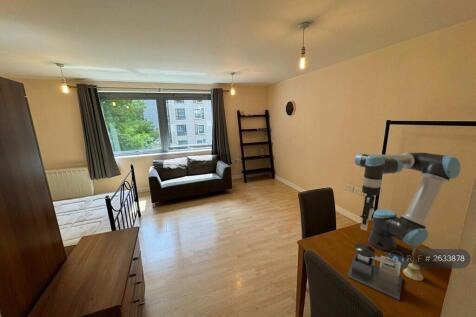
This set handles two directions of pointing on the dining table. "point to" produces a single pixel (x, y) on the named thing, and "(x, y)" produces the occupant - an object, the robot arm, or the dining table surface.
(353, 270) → the press stand
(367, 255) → the black ball joystick
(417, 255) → the hand bell
